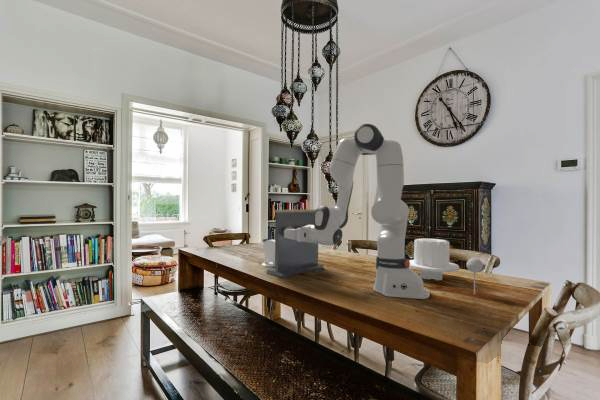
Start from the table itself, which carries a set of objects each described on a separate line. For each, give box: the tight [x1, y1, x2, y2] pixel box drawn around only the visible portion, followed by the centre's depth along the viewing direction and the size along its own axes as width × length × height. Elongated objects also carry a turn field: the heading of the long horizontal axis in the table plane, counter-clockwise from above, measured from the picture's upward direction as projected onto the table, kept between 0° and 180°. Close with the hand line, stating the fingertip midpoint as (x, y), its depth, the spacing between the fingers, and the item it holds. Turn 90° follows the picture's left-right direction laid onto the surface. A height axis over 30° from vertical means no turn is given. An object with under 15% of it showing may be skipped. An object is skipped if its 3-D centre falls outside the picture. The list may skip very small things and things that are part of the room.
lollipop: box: [466, 257, 484, 295], centre depth 126 cm, size 6×6×15 cm
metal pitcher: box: [261, 238, 275, 268], centre depth 182 cm, size 12×11×15 cm
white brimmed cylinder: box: [409, 238, 460, 281], centre depth 155 cm, size 25×25×19 cm
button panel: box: [266, 209, 324, 278], centre depth 167 cm, size 12×32×33 cm, turn 137°
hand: (290, 231), depth 156 cm, fingers closed, pressing on sage button
